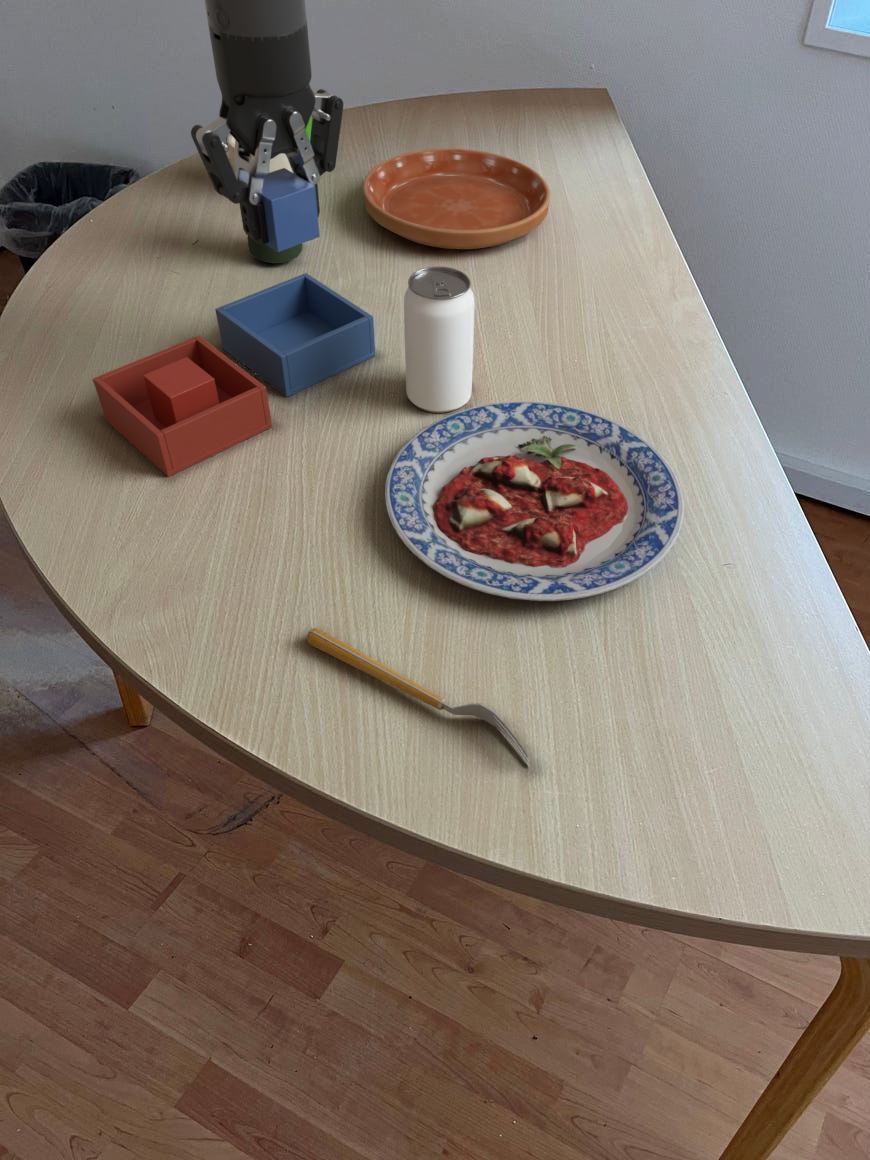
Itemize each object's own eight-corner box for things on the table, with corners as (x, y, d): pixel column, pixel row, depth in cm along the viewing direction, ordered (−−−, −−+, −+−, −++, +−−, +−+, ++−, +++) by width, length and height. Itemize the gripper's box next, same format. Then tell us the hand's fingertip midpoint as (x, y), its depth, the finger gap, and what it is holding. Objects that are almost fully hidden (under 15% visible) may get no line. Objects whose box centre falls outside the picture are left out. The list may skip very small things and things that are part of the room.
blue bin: (286, 397, 94) (281, 357, 90) (222, 348, 99) (214, 308, 95) (375, 355, 99) (373, 316, 96) (310, 311, 104) (306, 272, 101)
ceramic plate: (605, 664, 73) (610, 639, 71) (327, 542, 81) (323, 516, 78) (721, 478, 88) (728, 452, 86) (477, 390, 96) (478, 364, 93)
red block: (180, 440, 88) (170, 398, 85) (153, 417, 90) (142, 375, 87) (223, 420, 90) (214, 378, 87) (196, 398, 92) (186, 356, 89)
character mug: (316, 235, 115) (305, 120, 105) (329, 263, 111) (318, 147, 101) (224, 246, 113) (204, 129, 103) (234, 275, 108) (214, 157, 99)
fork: (296, 636, 72) (527, 755, 65) (311, 617, 72) (541, 733, 65) (306, 652, 74) (530, 769, 67) (320, 634, 74) (543, 748, 68)
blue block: (277, 252, 85) (271, 200, 81) (248, 233, 87) (240, 181, 83) (320, 237, 87) (315, 185, 83) (290, 218, 89) (284, 167, 85)
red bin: (168, 477, 85) (157, 436, 82) (104, 419, 90) (91, 378, 87) (272, 427, 91) (266, 386, 87) (206, 375, 96) (198, 334, 92)
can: (466, 374, 97) (469, 262, 88) (476, 412, 93) (481, 298, 84) (402, 378, 96) (399, 265, 87) (410, 417, 92) (407, 303, 83)
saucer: (486, 162, 130) (488, 133, 127) (583, 234, 118) (587, 204, 115) (333, 197, 122) (331, 167, 119) (420, 278, 109) (420, 247, 107)
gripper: (304, -14, 79) (322, 195, 92) (148, 20, 72) (192, 240, 85) (361, 11, 75) (371, 224, 88) (203, 49, 69) (239, 274, 81)
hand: (283, 231), depth 86 cm, fingers closed on blue block, 4 cm apart
